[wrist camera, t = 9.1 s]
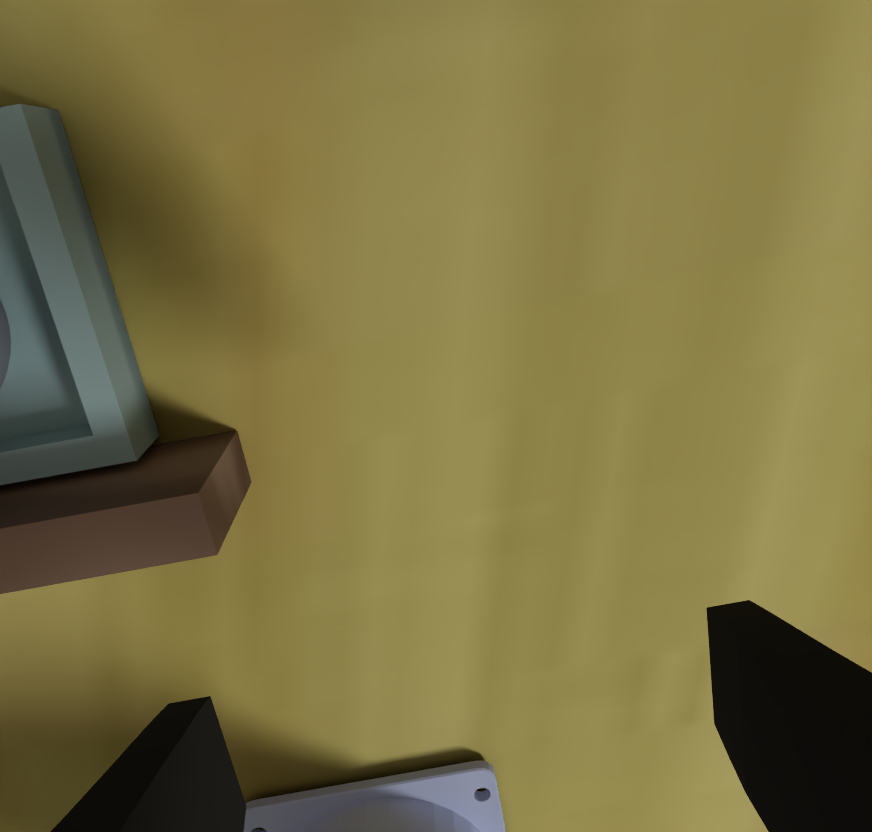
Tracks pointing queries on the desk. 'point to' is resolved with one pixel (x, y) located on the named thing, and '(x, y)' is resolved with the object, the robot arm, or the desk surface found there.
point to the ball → (4, 343)
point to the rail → (122, 514)
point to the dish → (60, 317)
